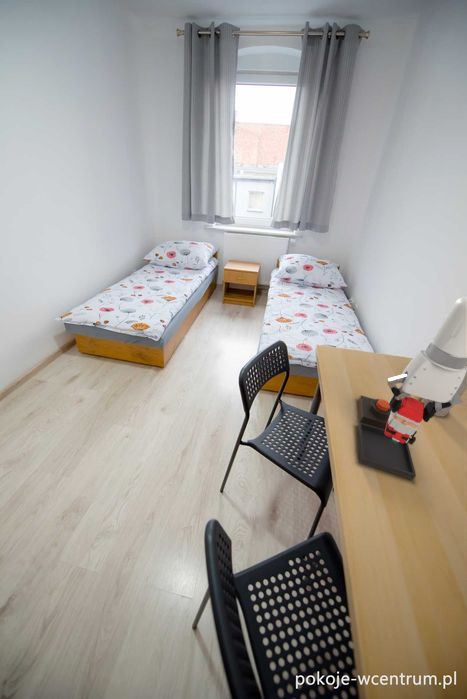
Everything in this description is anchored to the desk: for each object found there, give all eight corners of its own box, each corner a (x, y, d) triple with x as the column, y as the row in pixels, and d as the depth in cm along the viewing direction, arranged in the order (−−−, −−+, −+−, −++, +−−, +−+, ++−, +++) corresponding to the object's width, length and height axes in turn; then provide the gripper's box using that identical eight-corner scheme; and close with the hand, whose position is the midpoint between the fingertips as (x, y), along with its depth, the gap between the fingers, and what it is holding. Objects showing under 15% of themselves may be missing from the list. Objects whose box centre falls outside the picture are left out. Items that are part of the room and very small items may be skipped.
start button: (387, 405, 87) (389, 401, 86) (388, 413, 84) (391, 409, 83) (375, 401, 88) (377, 397, 87) (376, 409, 85) (378, 405, 84)
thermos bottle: (446, 406, 96) (498, 338, 80) (446, 420, 90) (503, 350, 75) (421, 396, 99) (466, 329, 84) (420, 408, 94) (468, 339, 78)
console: (392, 410, 91) (398, 401, 89) (397, 433, 83) (404, 423, 81) (358, 401, 94) (362, 391, 91) (359, 422, 86) (365, 412, 83)
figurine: (411, 451, 68) (436, 418, 61) (381, 436, 71) (402, 403, 64) (413, 429, 74) (437, 397, 67) (386, 416, 77) (405, 384, 70)
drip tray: (402, 441, 81) (406, 436, 80) (411, 480, 71) (416, 475, 69) (356, 427, 84) (359, 422, 82) (359, 463, 73) (362, 458, 72)
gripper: (485, 356, 60) (441, 413, 70) (400, 336, 63) (370, 393, 73) (502, 376, 54) (451, 436, 64) (406, 353, 57) (372, 413, 67)
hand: (408, 412), depth 68 cm, fingers closed on figurine, 6 cm apart
